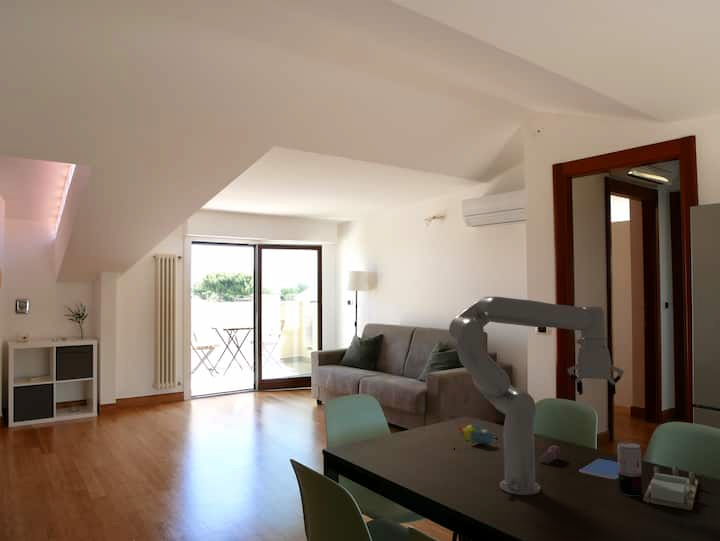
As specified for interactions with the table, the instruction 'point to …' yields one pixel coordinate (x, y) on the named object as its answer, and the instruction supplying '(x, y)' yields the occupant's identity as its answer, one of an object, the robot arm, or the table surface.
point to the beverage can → (629, 469)
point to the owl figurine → (477, 434)
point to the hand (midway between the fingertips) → (596, 395)
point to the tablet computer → (602, 469)
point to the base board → (690, 491)
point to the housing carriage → (668, 488)
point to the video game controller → (550, 454)
